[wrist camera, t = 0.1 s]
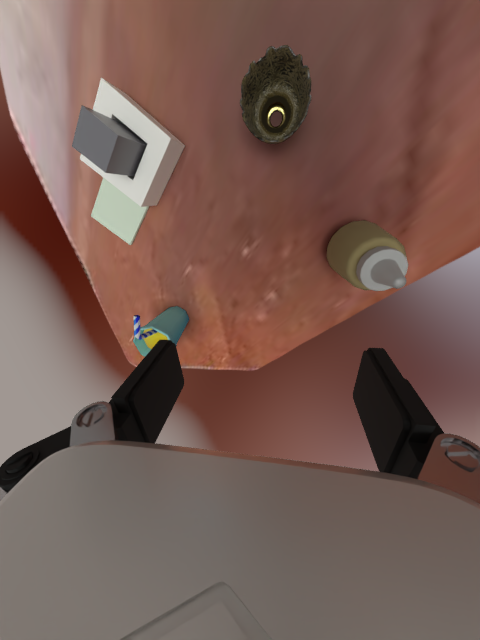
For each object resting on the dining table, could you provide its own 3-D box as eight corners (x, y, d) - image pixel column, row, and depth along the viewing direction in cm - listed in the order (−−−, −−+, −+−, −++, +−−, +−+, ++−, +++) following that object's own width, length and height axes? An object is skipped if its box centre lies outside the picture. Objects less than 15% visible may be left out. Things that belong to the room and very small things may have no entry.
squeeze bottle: (329, 215, 35) (369, 232, 19) (384, 220, 34) (471, 242, 19) (317, 266, 39) (341, 314, 23) (365, 272, 38) (424, 325, 23)
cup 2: (262, 164, 33) (257, 156, 26) (239, 105, 30) (227, 79, 23) (312, 132, 30) (321, 114, 24) (292, 65, 28) (296, 23, 21)
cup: (157, 279, 45) (107, 314, 32) (194, 285, 44) (158, 323, 31) (162, 337, 52) (123, 384, 39) (195, 342, 51) (166, 393, 38)
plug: (133, 128, 33) (81, 105, 24) (159, 150, 34) (118, 135, 25) (123, 158, 35) (71, 146, 26) (147, 178, 36) (105, 172, 27)
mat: (107, 173, 37) (104, 173, 36) (149, 206, 38) (147, 206, 38) (93, 215, 41) (90, 216, 40) (132, 244, 42) (130, 245, 42)
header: (125, 93, 32) (101, 77, 27) (185, 145, 33) (171, 138, 29) (103, 163, 36) (79, 159, 32) (156, 205, 38) (141, 206, 34)
